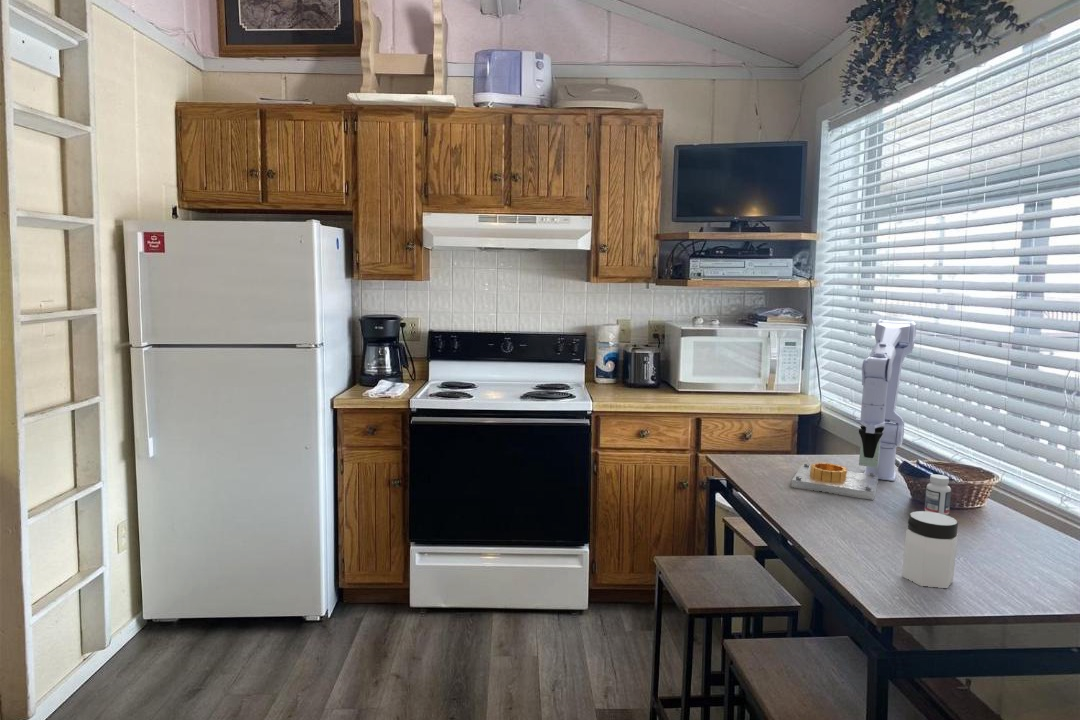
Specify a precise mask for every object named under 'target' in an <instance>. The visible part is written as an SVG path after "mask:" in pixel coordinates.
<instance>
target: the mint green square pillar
mask: <svg viewBox="0 0 1080 720" xmlns="http://www.w3.org/2000/svg"><path fill="white" fill-rule="evenodd" d="M880 439H881V438H880ZM880 439H879V441H878V444H877V447H876V451H875V454H874V457H873V458H867V457H864V453H863V443H862V439H861V438H860V448H859V459H858V465H859V466H863V467H866V466H868V467H875V468H877V467H878V461H879V450H880Z"/></svg>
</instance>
